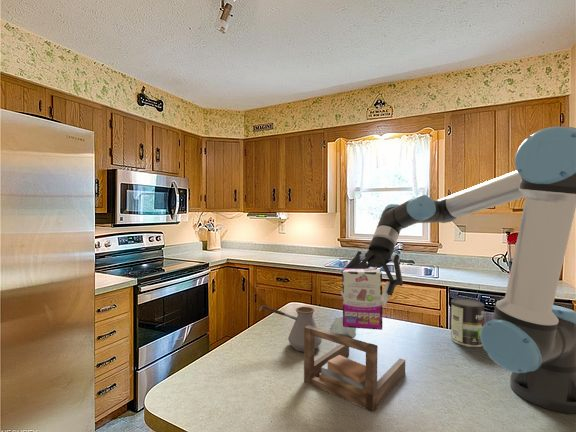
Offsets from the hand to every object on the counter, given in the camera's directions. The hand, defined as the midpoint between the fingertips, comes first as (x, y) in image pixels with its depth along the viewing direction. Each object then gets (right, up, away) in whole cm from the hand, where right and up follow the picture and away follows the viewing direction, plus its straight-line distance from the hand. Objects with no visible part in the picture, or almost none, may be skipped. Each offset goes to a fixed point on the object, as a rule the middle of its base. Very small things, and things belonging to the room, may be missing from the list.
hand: (362, 299), depth 90 cm
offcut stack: (-6, -21, -7) cm, 23 cm away
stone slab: (+1, -21, +35) cm, 41 cm away
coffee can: (+43, -21, +22) cm, 52 cm away
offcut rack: (-3, -21, -3) cm, 21 cm away
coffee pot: (-21, -21, +16) cm, 33 cm away
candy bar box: (0, -8, +1) cm, 8 cm away
